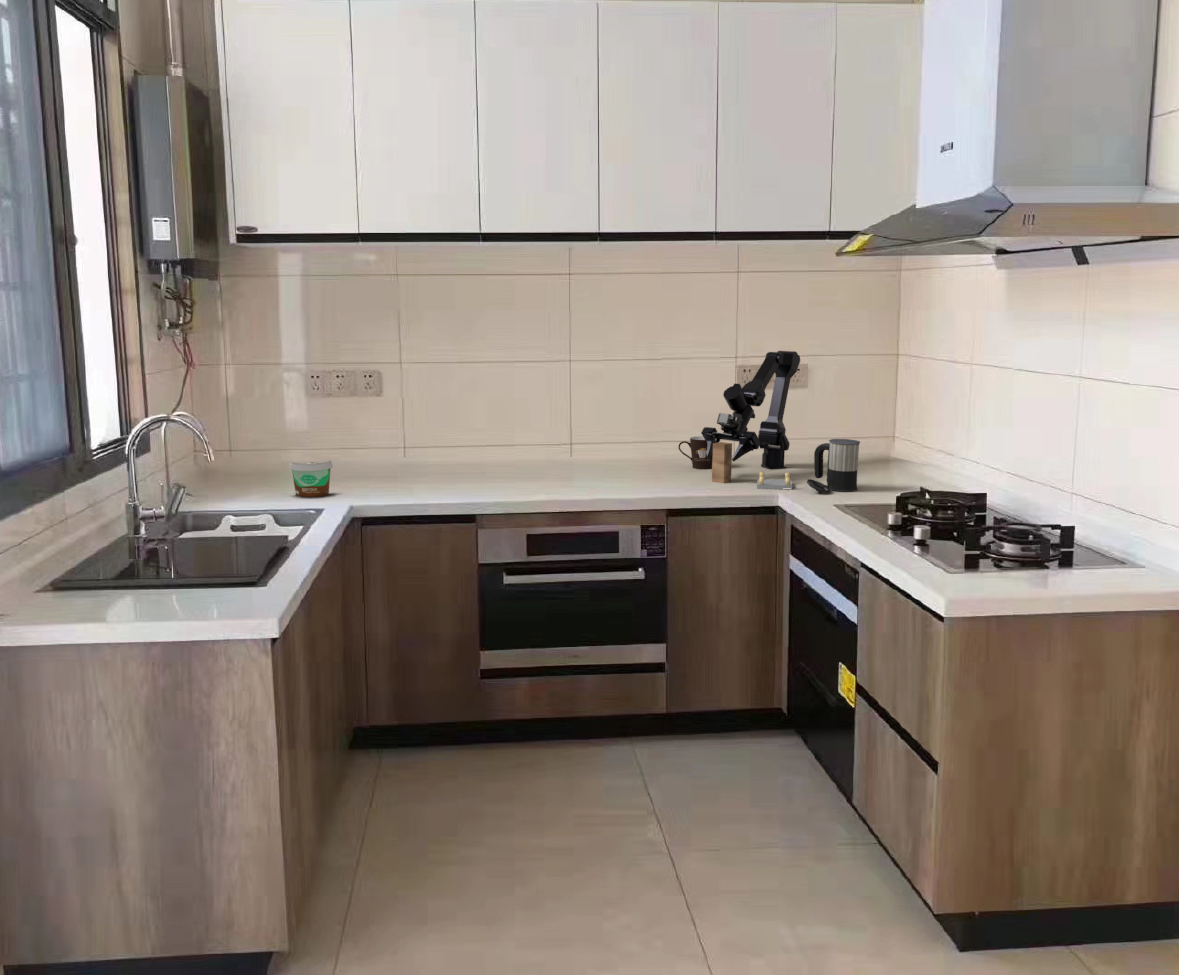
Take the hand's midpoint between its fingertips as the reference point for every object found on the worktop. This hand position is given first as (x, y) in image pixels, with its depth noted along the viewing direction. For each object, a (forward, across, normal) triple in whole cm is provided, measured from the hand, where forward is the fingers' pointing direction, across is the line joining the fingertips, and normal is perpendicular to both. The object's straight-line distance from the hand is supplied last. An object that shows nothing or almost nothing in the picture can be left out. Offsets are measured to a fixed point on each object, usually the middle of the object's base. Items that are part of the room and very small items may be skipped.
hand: (720, 458), depth 348 cm
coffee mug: (-8, -20, +18) cm, 28 cm away
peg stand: (+2, +17, +8) cm, 19 cm away
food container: (+72, -79, -61) cm, 123 cm away
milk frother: (-1, +34, +12) cm, 36 cm away
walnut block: (+4, 0, +6) cm, 7 cm away
